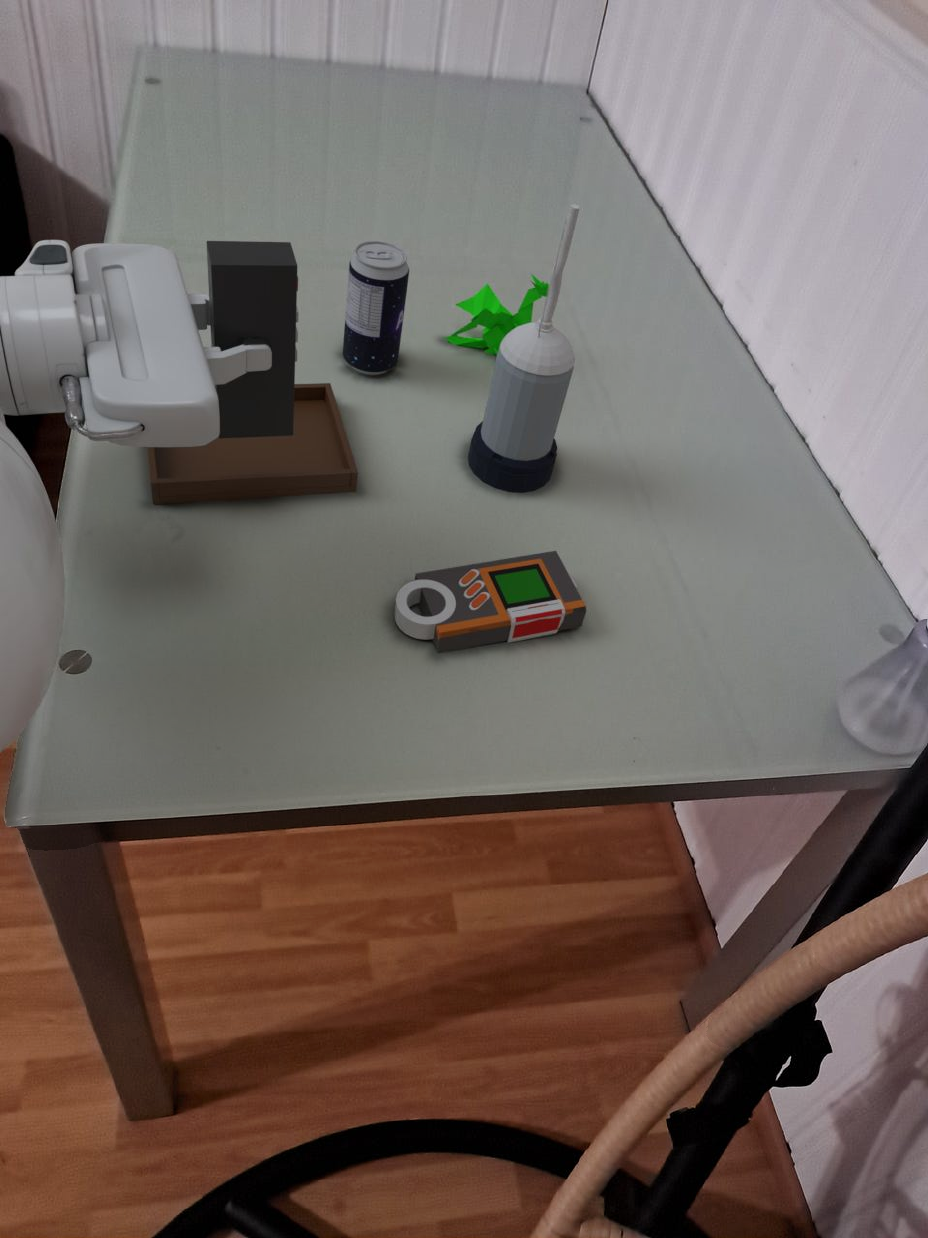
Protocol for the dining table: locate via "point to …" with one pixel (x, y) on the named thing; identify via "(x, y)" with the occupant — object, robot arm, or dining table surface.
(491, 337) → the figurine
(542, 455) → the humidifier
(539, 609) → the electronic device
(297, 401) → the tray
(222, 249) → the tall dark grey prism
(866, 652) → the dining table surface
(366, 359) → the beverage can
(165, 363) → the robot arm
